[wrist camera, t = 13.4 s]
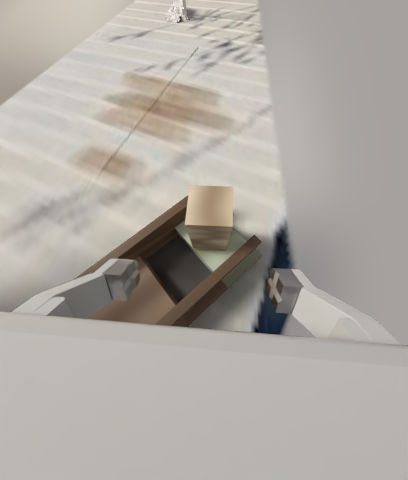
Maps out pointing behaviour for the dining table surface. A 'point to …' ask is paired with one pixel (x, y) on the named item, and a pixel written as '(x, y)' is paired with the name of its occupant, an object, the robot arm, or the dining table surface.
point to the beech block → (209, 217)
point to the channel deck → (175, 272)
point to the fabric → (177, 11)
